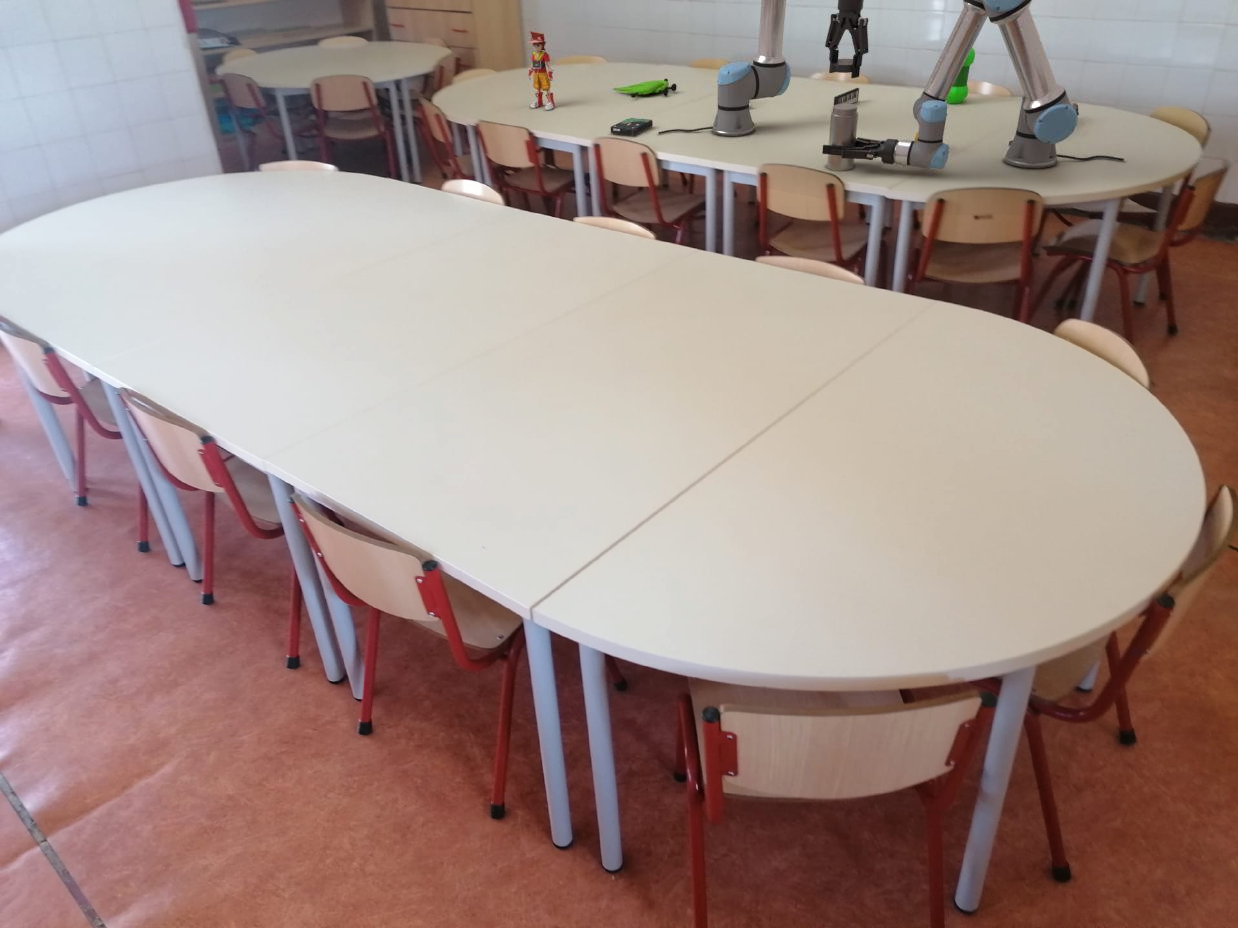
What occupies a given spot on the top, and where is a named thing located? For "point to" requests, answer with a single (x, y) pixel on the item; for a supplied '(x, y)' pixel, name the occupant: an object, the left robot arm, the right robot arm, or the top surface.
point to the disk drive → (631, 126)
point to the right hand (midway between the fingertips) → (827, 145)
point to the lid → (841, 65)
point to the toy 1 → (541, 71)
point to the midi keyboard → (847, 97)
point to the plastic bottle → (961, 82)
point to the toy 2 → (648, 88)
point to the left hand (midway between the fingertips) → (843, 75)
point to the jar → (842, 134)
